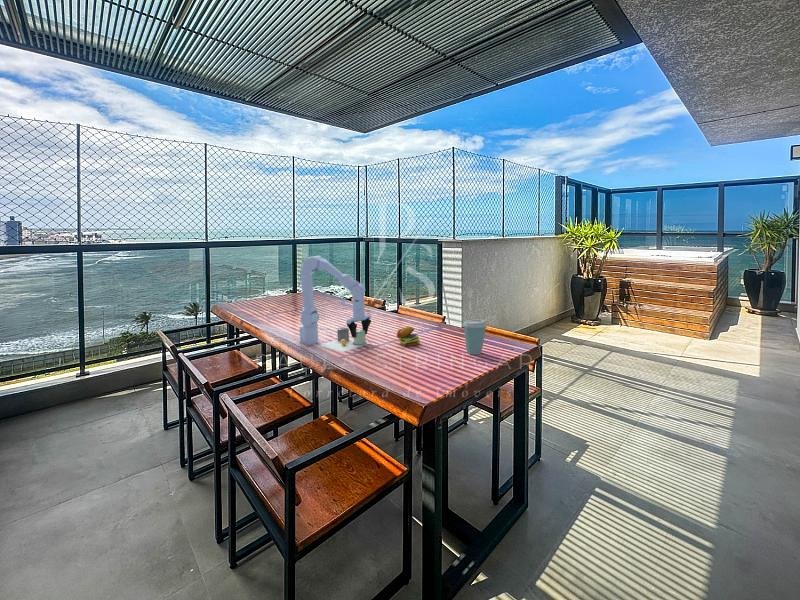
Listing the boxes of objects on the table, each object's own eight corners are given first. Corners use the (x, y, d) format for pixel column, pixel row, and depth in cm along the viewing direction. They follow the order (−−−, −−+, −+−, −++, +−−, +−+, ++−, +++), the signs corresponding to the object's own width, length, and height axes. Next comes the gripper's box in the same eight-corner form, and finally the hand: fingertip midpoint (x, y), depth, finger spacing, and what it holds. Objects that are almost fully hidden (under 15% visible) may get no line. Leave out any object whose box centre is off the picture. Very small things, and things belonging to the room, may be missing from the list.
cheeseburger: (419, 347, 181) (413, 327, 179) (398, 351, 183) (392, 332, 182) (422, 341, 190) (417, 322, 189) (402, 345, 193) (397, 326, 192)
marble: (339, 345, 184) (339, 339, 184) (344, 343, 186) (343, 338, 186) (343, 346, 182) (343, 340, 182) (348, 345, 184) (347, 339, 184)
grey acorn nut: (335, 340, 193) (335, 329, 192) (344, 338, 197) (343, 326, 196) (343, 342, 189) (342, 330, 188) (351, 339, 194) (350, 328, 193)
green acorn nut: (351, 343, 187) (351, 331, 186) (360, 340, 191) (359, 329, 190) (359, 345, 183) (359, 333, 182) (367, 342, 187) (367, 330, 186)
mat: (317, 346, 185) (317, 345, 185) (346, 338, 199) (346, 337, 199) (342, 353, 173) (342, 352, 173) (371, 344, 187) (371, 343, 187)
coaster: (349, 343, 187) (349, 343, 187) (360, 340, 192) (360, 340, 192) (359, 346, 182) (359, 345, 182) (369, 343, 187) (369, 342, 187)
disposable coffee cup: (459, 354, 169) (460, 322, 166) (465, 348, 179) (465, 317, 176) (483, 357, 165) (484, 323, 162) (487, 350, 175) (488, 318, 172)
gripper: (353, 311, 176) (354, 340, 178) (374, 307, 187) (375, 333, 189) (343, 310, 181) (344, 337, 183) (364, 305, 191) (365, 331, 194)
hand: (359, 335), depth 186 cm, fingers open, 7 cm apart
